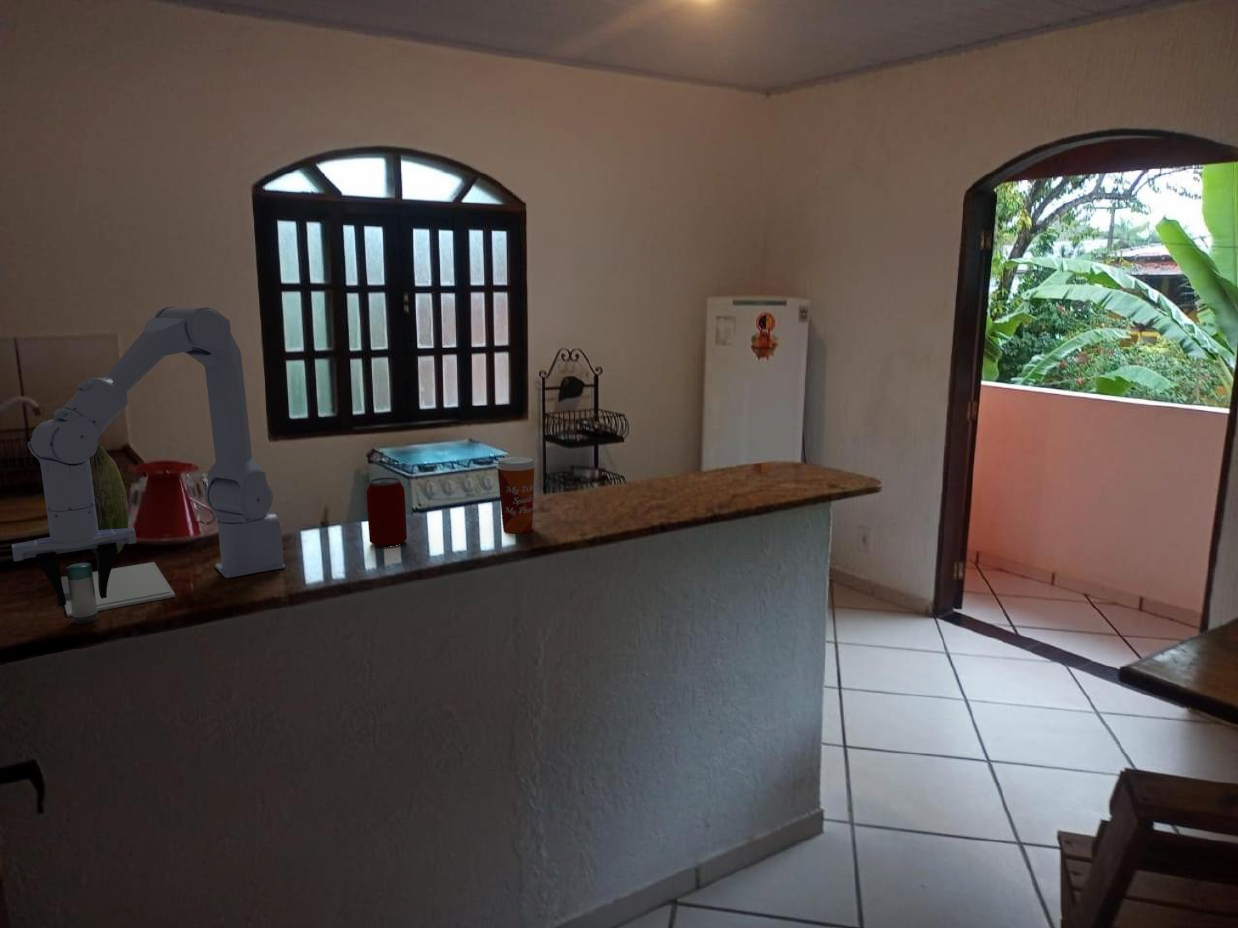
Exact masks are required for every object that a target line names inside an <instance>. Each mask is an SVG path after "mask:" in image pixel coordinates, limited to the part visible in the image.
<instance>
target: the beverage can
mask: <svg viewBox="0 0 1238 928" xmlns="http://www.w3.org/2000/svg"><path fill="white" fill-rule="evenodd" d="M366 506H367V507H366V508H367V521H368V523H367V525H368V526H367V527H368V535H369V537H368V539H369V542H370V544H372V545H374V546H375V545H376V547H377V546H378V547H379V548H391V547H390V546H395V547H397V546H396V545H398V546H400V545H402V544H403V543H404V542H405V541H407V537H408V536H407V535H408V533H407V532H408V531H407V512H406V511H407V509H406V494H405V487H404V485H403V484H402V482H401V479H400V478H397V477H378V478H374V479H371V480H370V481H369V484H368V486H367V489H366ZM401 543H402V544H401ZM399 544H400V545H399ZM378 547H377V548H378Z"/></svg>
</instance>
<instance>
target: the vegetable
mask: <svg viewBox="0 0 1238 928" xmlns="http://www.w3.org/2000/svg"><path fill="white" fill-rule="evenodd" d="M89 459H90V467H91V475H92V483H93V491H94V499H95V507H96V515H97V523H98V530H112V529H125V528H129V521H130V519H129V517H130V516H129V501H128V495H127V491H126V488H125V484H124V480H123V479H122V475H121V472H120V470H119V468H118V466H117V463H116V461H115V460H114V459H113V458H112V457H111V456H110V454H108V452H107V451H106V450H105V448H104V447H103V446H102V445H100V444H98V446H97V450H96V452H95V454H94V455H93V456H91V457H90V458H89ZM124 545H125V544H119V545H116V546H117V549H118V553H117V555H118V554H119V553H120V552H121V551H122V550H123V548H124ZM93 550H94V551H95V548H93Z"/></svg>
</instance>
